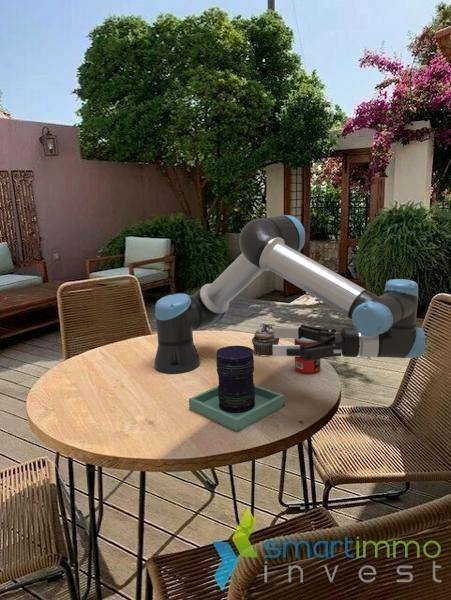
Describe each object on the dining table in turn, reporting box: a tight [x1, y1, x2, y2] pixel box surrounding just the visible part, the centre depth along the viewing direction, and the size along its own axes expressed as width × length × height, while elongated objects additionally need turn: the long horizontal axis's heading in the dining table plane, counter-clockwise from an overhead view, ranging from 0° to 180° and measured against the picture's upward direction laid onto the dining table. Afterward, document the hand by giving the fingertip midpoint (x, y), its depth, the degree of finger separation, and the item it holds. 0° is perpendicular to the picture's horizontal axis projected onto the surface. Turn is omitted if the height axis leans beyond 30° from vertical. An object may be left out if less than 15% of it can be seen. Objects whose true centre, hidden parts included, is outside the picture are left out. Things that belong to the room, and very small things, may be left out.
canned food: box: [294, 337, 321, 375], centre depth 144 cm, size 8×8×11 cm
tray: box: [188, 384, 285, 433], centre depth 123 cm, size 18×18×3 cm
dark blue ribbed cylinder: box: [215, 345, 255, 413], centre depth 121 cm, size 10×10×15 cm
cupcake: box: [251, 323, 280, 356], centre depth 162 cm, size 10×10×10 cm
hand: (273, 341), depth 118 cm, fingers open, 13 cm apart
